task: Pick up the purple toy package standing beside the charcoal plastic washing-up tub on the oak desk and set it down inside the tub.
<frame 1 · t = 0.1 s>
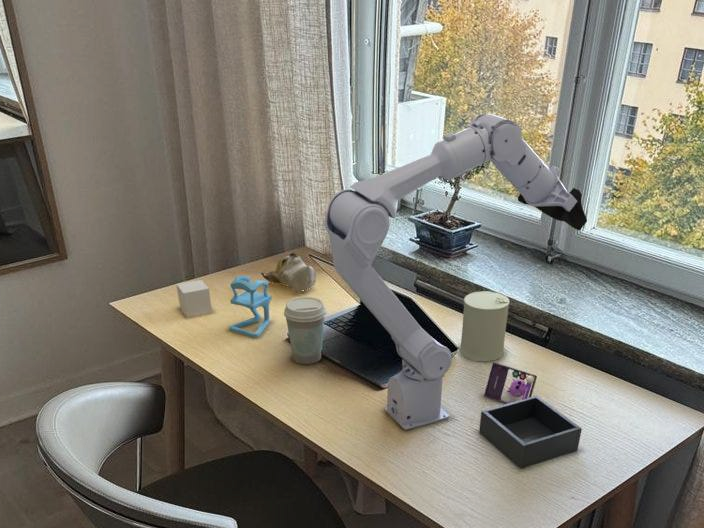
hand: (568, 218, 134), 32 cm above the table, tool tilted 50°, fingers open, 7 cm apart
coffee cup: (307, 358, 162), on the table
grey cube: (196, 311, 183), on the table
chair: (253, 328, 175), on the table
tub: (527, 441, 136), on the table
ceramic sculpture: (293, 287, 194), on the table
purple toy package: (510, 399, 148), on the table
can: (481, 352, 164), on the table
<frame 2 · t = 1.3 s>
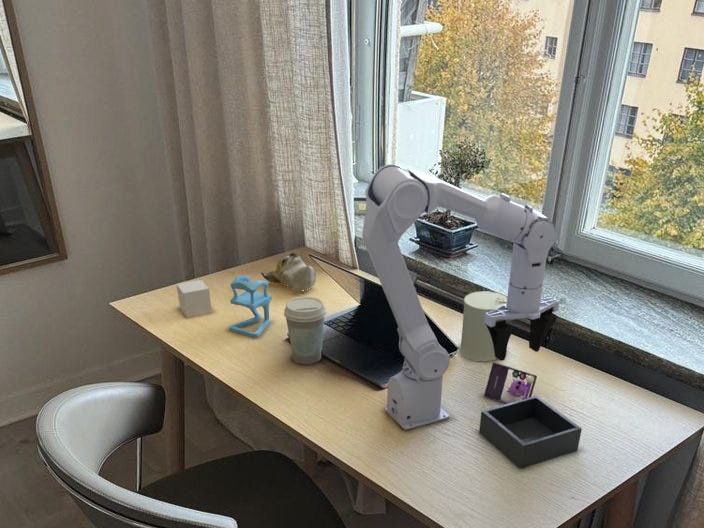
hand: (516, 353, 142), 9 cm above the table, tool pointing down, fingers open, 7 cm apart
nothing on the table moved.
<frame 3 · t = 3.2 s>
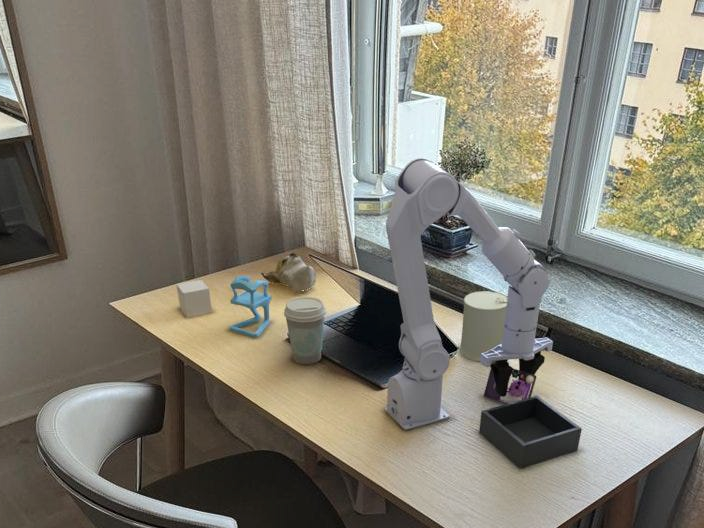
hand: (511, 391, 147), 2 cm above the table, tool pointing down, fingers closed on purple toy package, 4 cm apart
purple toy package: (510, 399, 148), on the table, touching gripper
everything else where it was.
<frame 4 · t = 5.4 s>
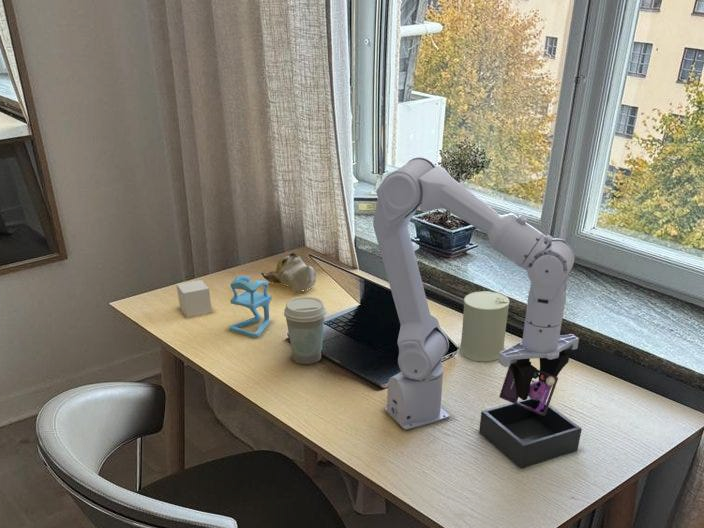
hand: (532, 394, 131), 9 cm above the table, tool pointing down, fingers closed on purple toy package, 4 cm apart
purple toy package: (528, 403, 133), point 7 cm above the table, touching gripper
everything else where it was.
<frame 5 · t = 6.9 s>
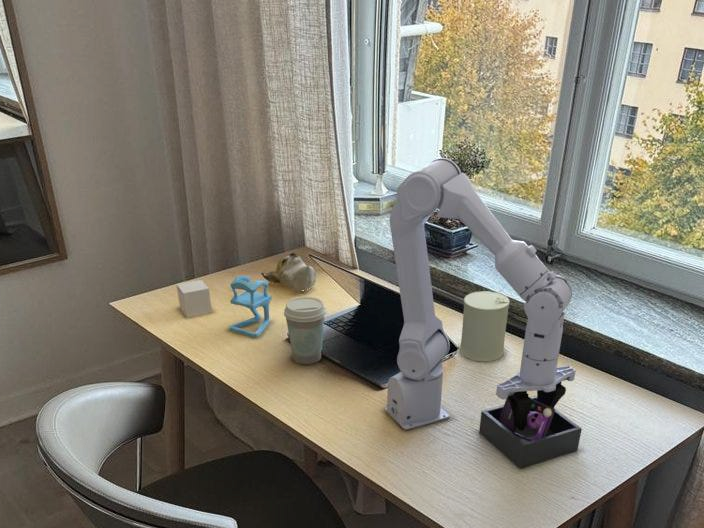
hand: (529, 424, 134), 4 cm above the table, tool pointing down, fingers closed on purple toy package, 4 cm apart
purple toy package: (526, 432, 135), point 2 cm above the table, touching gripper
everything else where it was.
when the fingers open (2 cm above the table, at t = 7.7 s): purple toy package stays where it is, resting on tub.
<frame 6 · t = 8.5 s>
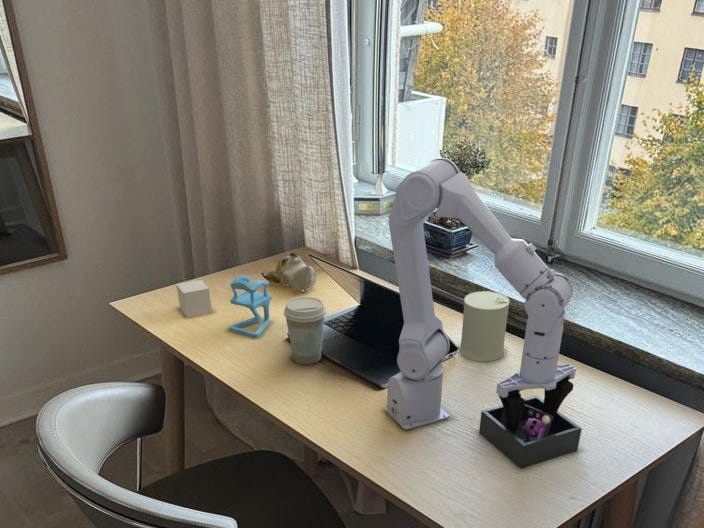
hand: (530, 422, 133), 4 cm above the table, tool pointing down, fingers open, 7 cm apart
purple toy package: (525, 439, 136), resting on tub
everything else where it was.
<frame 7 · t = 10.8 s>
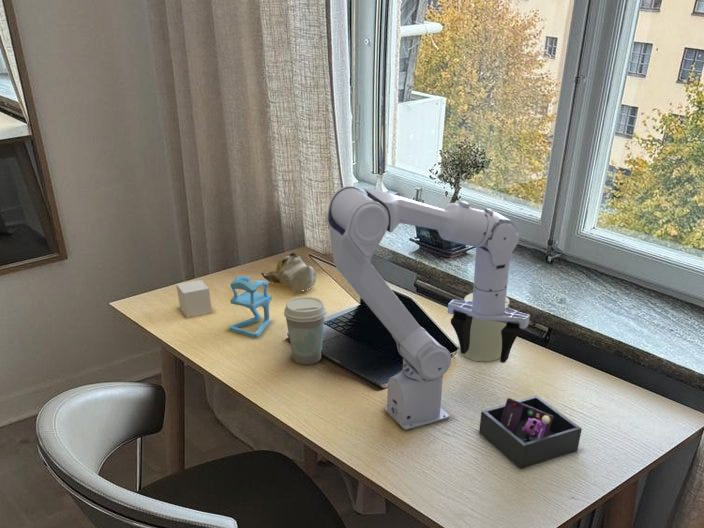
hand: (484, 355, 142), 9 cm above the table, tool pointing down, fingers open, 7 cm apart
nothing on the table moved.
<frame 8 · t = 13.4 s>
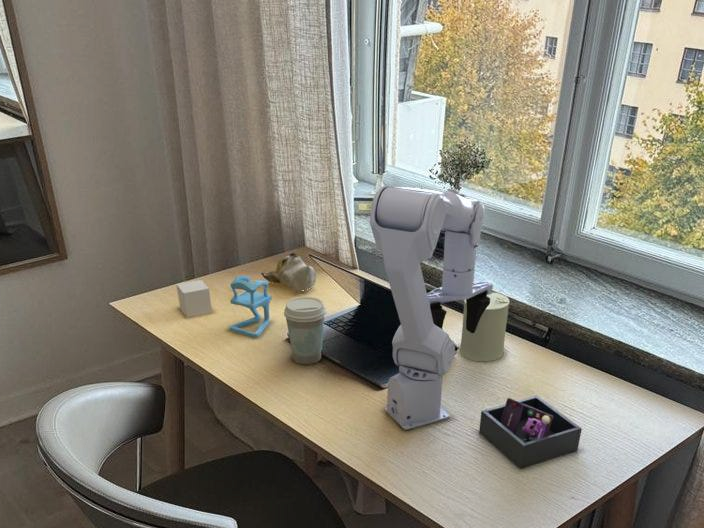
hand: (453, 335, 149), 9 cm above the table, tool pointing down, fingers open, 7 cm apart
nothing on the table moved.
at the end: purple toy package inside the target area in the tub (0.4 cm from its centre), point 0.4 cm above the tub's base; the gripper is holding nothing; purple toy package tilted 0° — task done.
